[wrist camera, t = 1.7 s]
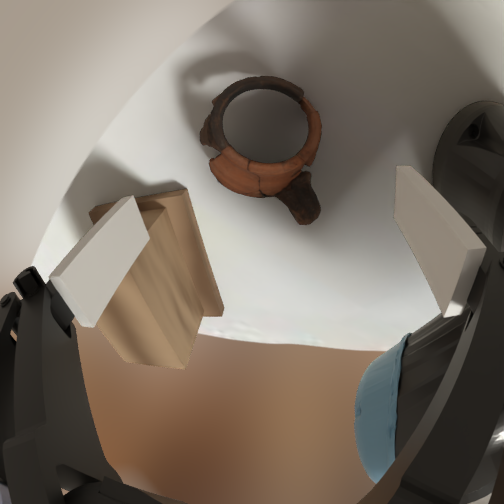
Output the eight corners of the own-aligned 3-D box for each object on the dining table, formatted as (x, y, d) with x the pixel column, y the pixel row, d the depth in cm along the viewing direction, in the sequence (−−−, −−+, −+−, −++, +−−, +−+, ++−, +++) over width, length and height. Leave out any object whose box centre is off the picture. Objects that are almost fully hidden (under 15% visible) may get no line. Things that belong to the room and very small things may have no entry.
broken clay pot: (186, 147, 24) (167, 117, 16) (265, 89, 24) (277, 44, 16) (270, 246, 26) (287, 259, 18) (345, 183, 26) (388, 171, 18)
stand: (187, 188, 26) (142, 248, 18) (224, 307, 35) (206, 375, 27) (95, 206, 29) (42, 258, 21) (144, 307, 38) (116, 364, 30)
